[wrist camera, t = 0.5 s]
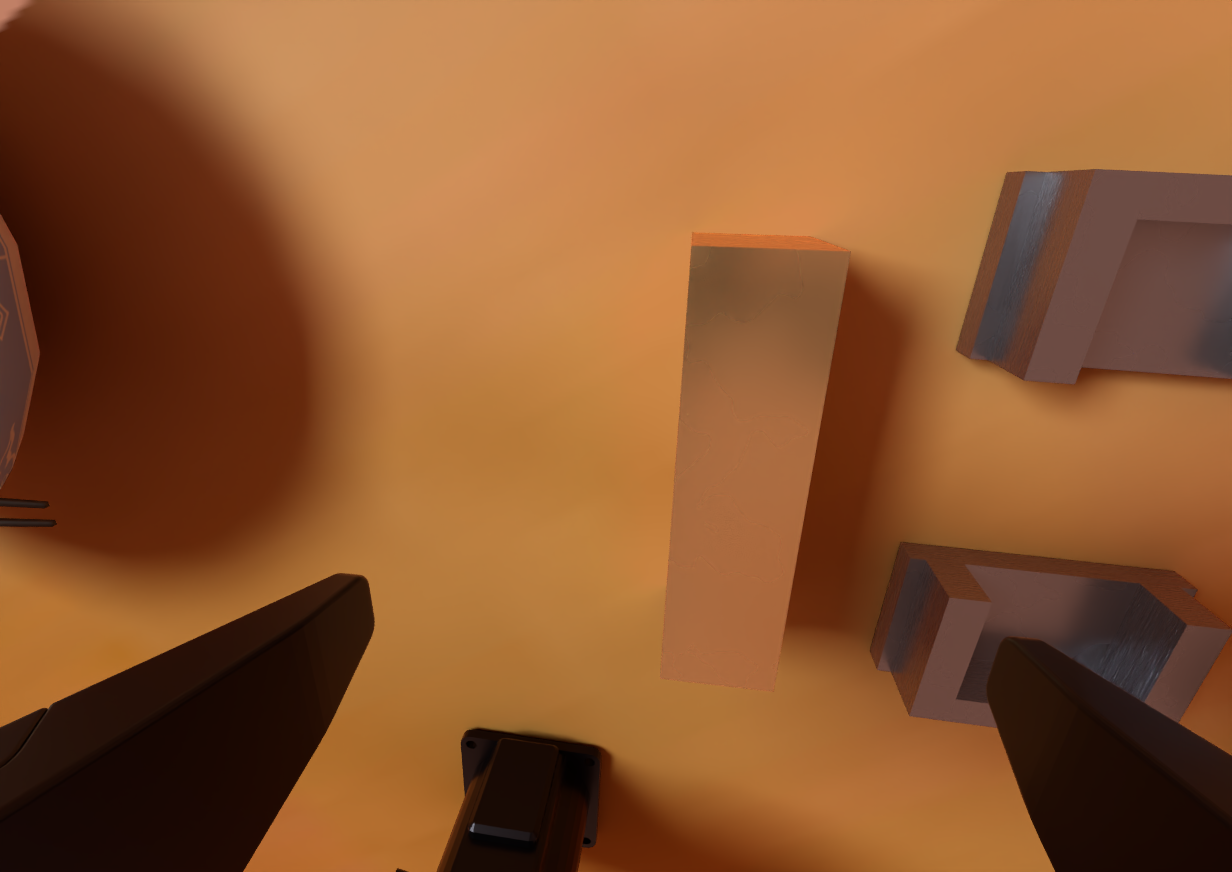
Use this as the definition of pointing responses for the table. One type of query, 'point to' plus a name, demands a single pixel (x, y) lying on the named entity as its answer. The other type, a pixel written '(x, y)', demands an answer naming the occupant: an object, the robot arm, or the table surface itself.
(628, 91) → the table surface
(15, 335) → the ramen bowl
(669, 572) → the brown rectangular block
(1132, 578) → the grey frame
